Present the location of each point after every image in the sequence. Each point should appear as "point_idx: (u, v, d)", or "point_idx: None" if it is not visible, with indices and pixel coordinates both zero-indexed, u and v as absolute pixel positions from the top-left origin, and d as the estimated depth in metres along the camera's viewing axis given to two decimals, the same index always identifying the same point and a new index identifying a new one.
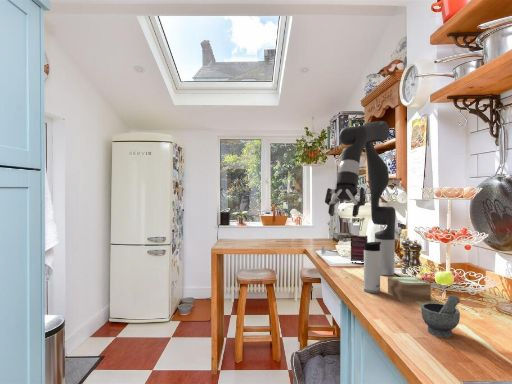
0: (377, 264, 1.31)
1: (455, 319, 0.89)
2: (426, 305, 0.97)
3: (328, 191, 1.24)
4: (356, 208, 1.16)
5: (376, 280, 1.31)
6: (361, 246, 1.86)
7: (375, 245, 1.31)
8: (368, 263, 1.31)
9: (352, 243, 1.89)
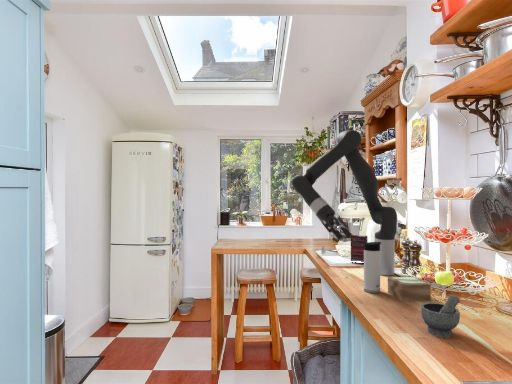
0: (377, 264, 1.31)
1: (455, 319, 0.89)
2: (426, 305, 0.97)
3: None
4: None
5: (376, 280, 1.31)
6: (361, 246, 1.86)
7: (375, 245, 1.31)
8: (368, 263, 1.31)
9: (352, 243, 1.89)
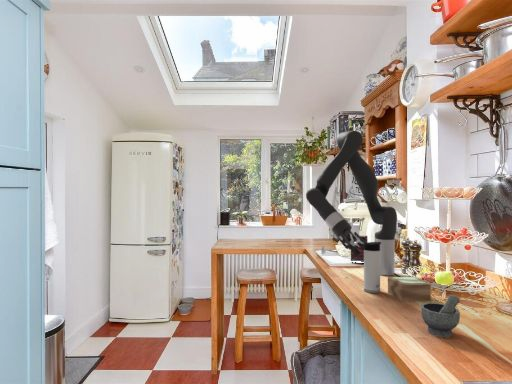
0: (377, 264, 1.31)
1: (455, 319, 0.89)
2: (426, 305, 0.97)
3: None
4: None
5: (376, 280, 1.31)
6: None
7: (375, 245, 1.31)
8: (368, 263, 1.31)
9: None
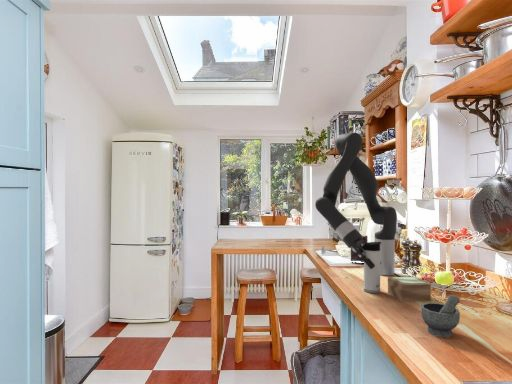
0: (377, 264, 1.31)
1: (455, 319, 0.89)
2: (426, 305, 0.97)
3: None
4: None
5: (376, 280, 1.31)
6: None
7: (375, 245, 1.31)
8: None
9: None
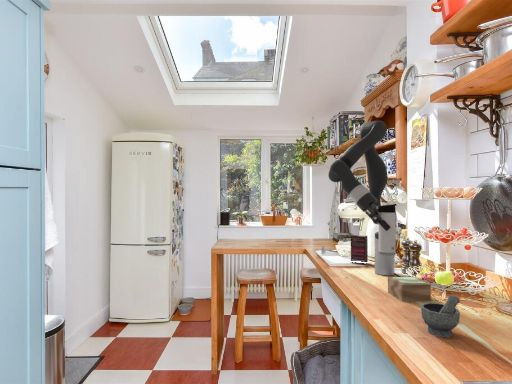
0: (392, 225, 1.28)
1: (455, 319, 0.89)
2: (426, 305, 0.97)
3: None
4: None
5: (392, 242, 1.28)
6: (361, 246, 1.86)
7: (390, 206, 1.28)
8: None
9: (352, 243, 1.89)
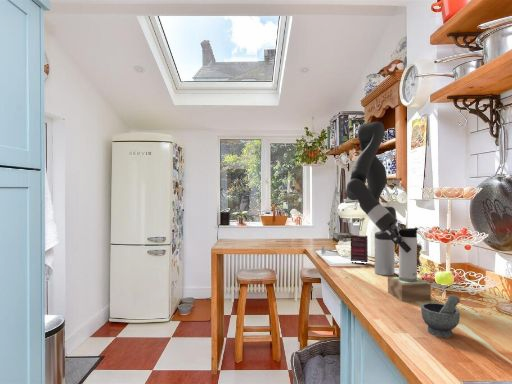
0: (414, 251, 1.24)
1: (455, 319, 0.89)
2: (426, 305, 0.97)
3: None
4: (401, 246, 1.24)
5: (413, 268, 1.24)
6: (361, 246, 1.86)
7: (412, 231, 1.24)
8: None
9: (352, 243, 1.89)
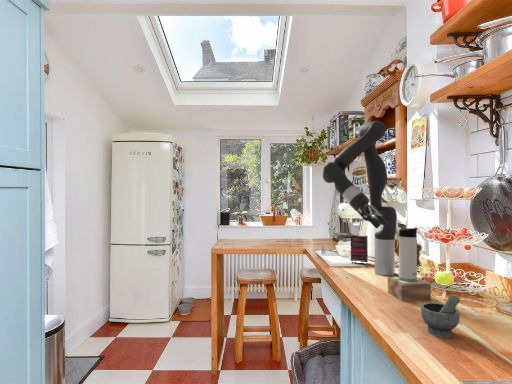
0: (414, 251, 1.24)
1: (455, 319, 0.89)
2: (426, 305, 0.97)
3: None
4: None
5: (413, 267, 1.24)
6: (361, 246, 1.86)
7: (412, 231, 1.24)
8: (404, 250, 1.25)
9: (352, 243, 1.89)
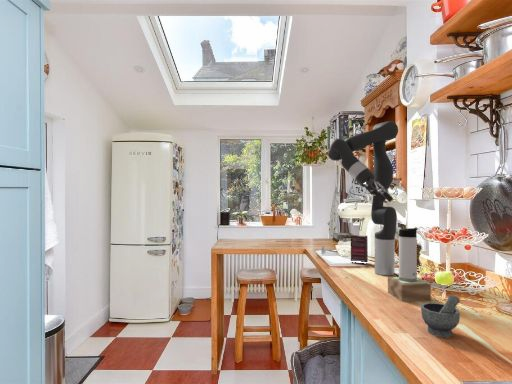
0: (414, 251, 1.24)
1: (455, 319, 0.89)
2: (426, 305, 0.97)
3: None
4: (377, 197, 1.35)
5: (413, 267, 1.24)
6: (361, 246, 1.86)
7: (412, 231, 1.24)
8: (404, 250, 1.25)
9: (352, 243, 1.89)
